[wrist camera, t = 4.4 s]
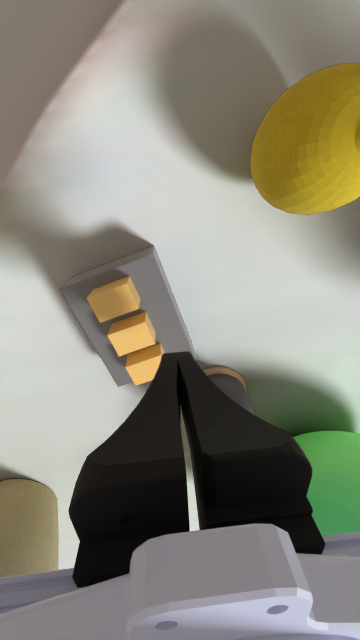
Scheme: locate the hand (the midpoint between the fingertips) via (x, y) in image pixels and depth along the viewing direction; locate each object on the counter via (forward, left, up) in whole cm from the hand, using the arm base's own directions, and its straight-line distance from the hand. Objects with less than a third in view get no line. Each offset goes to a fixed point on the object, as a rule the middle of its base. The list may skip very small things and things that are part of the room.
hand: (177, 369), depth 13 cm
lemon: (-2, -12, -8) cm, 14 cm away
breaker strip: (+2, +1, -8) cm, 8 cm away
